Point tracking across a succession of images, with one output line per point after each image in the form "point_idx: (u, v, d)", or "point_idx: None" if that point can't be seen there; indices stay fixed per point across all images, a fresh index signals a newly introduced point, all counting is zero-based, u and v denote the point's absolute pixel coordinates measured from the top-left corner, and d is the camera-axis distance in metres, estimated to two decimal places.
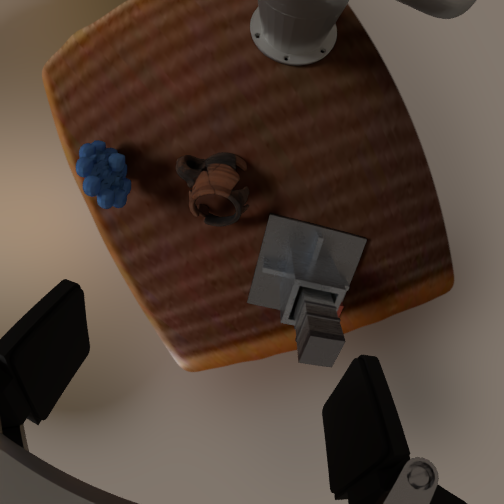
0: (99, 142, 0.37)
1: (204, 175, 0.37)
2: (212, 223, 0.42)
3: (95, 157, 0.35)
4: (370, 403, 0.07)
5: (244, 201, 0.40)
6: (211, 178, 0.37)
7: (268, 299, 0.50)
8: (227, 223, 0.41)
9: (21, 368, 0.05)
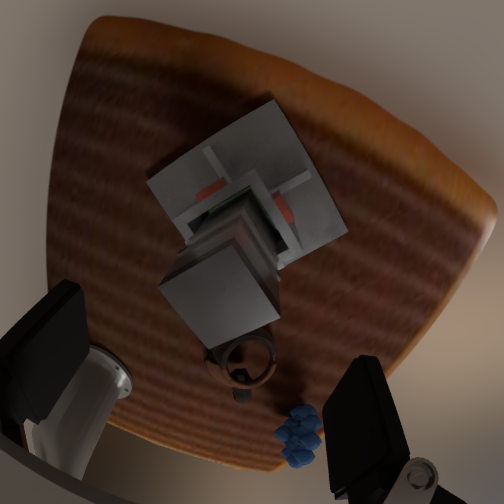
0: (282, 441, 0.41)
1: (230, 386, 0.34)
2: (270, 347, 0.34)
3: (288, 450, 0.37)
4: (370, 403, 0.07)
5: None
6: (225, 382, 0.34)
7: (322, 212, 0.30)
8: (256, 339, 0.33)
9: (21, 368, 0.05)
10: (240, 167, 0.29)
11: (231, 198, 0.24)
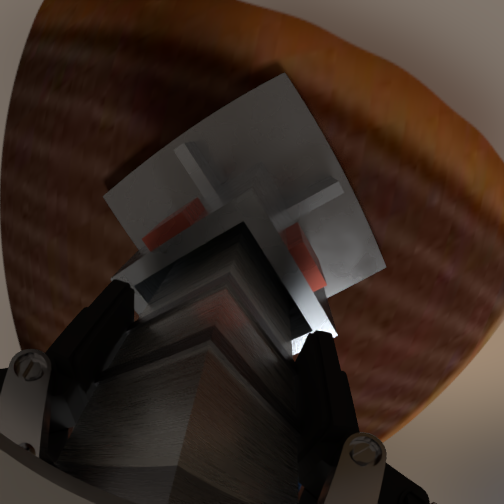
0: None
1: None
2: None
3: None
4: (316, 374, 0.07)
5: None
6: None
7: (352, 241, 0.21)
8: None
9: (82, 369, 0.06)
10: (233, 174, 0.19)
11: None
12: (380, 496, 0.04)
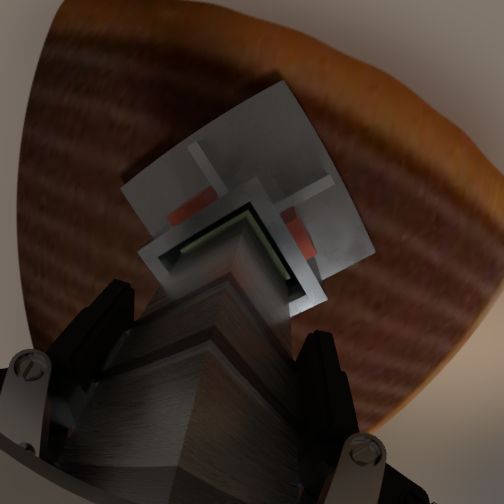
0: None
1: None
2: None
3: None
4: (316, 374, 0.07)
5: None
6: None
7: (344, 228, 0.23)
8: None
9: (82, 369, 0.06)
10: (238, 169, 0.22)
11: (216, 230, 0.15)
12: (380, 496, 0.04)
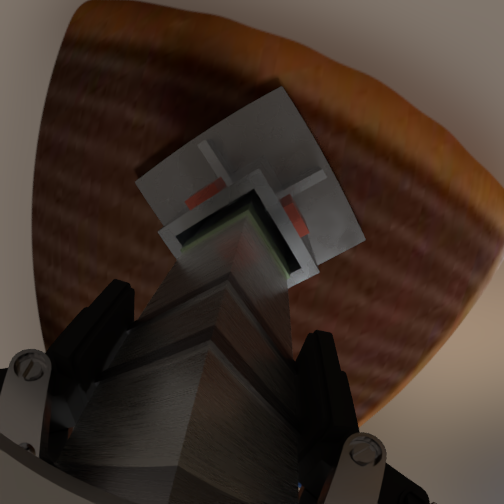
0: None
1: None
2: None
3: None
4: (317, 374, 0.07)
5: None
6: None
7: (336, 217, 0.26)
8: None
9: (82, 369, 0.06)
10: (242, 165, 0.25)
11: (216, 230, 0.15)
12: (380, 496, 0.04)
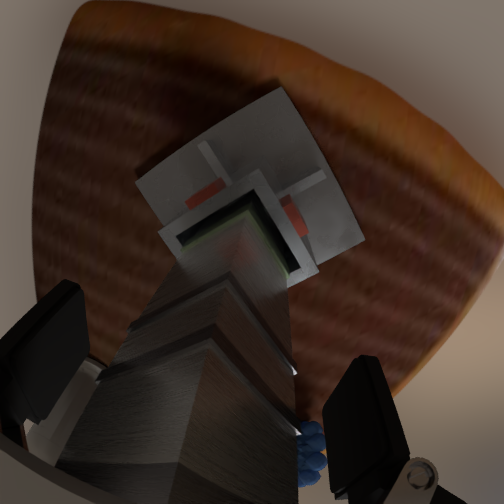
0: None
1: None
2: None
3: None
4: (370, 403, 0.07)
5: None
6: None
7: (336, 217, 0.26)
8: None
9: (21, 368, 0.05)
10: (242, 165, 0.25)
11: (216, 230, 0.15)
12: None
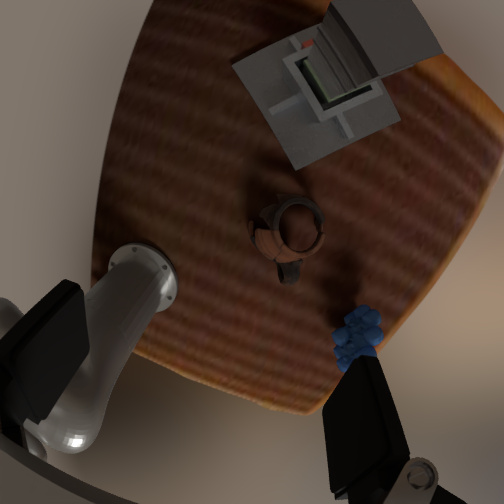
0: (335, 353, 0.43)
1: (279, 259, 0.36)
2: (319, 214, 0.35)
3: (345, 357, 0.39)
4: (370, 403, 0.07)
5: (272, 207, 0.34)
6: (275, 253, 0.35)
7: (380, 101, 0.31)
8: (306, 202, 0.34)
9: (21, 368, 0.05)
10: None
11: None
12: None
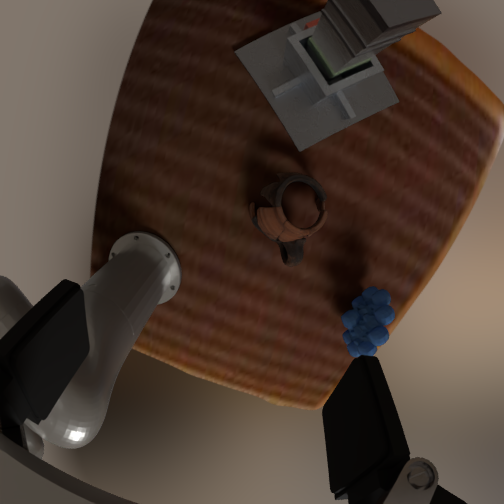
0: (344, 339, 0.42)
1: (283, 238, 0.35)
2: (320, 191, 0.35)
3: (356, 340, 0.39)
4: (370, 403, 0.07)
5: (273, 185, 0.34)
6: (278, 231, 0.35)
7: (378, 83, 0.31)
8: (307, 179, 0.34)
9: (21, 368, 0.05)
10: None
11: None
12: None
